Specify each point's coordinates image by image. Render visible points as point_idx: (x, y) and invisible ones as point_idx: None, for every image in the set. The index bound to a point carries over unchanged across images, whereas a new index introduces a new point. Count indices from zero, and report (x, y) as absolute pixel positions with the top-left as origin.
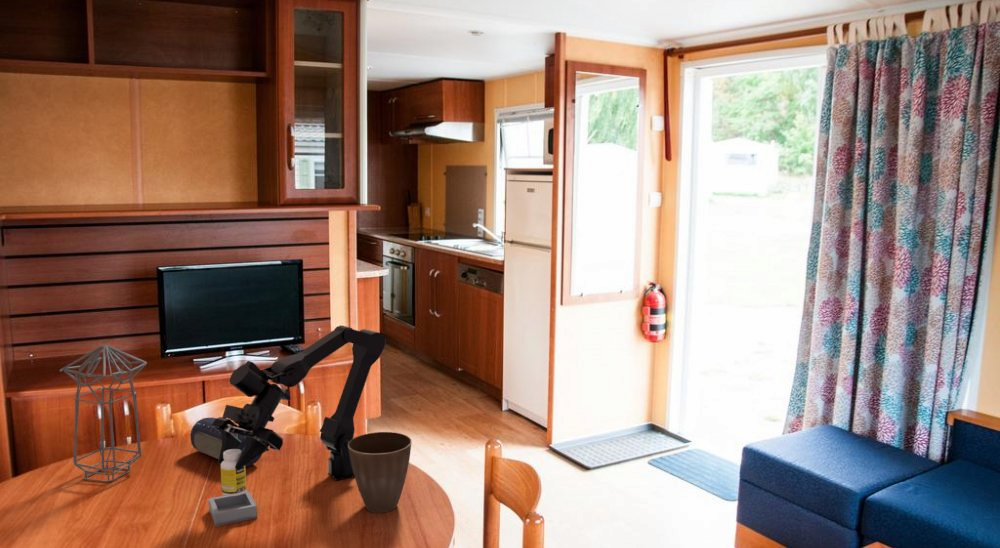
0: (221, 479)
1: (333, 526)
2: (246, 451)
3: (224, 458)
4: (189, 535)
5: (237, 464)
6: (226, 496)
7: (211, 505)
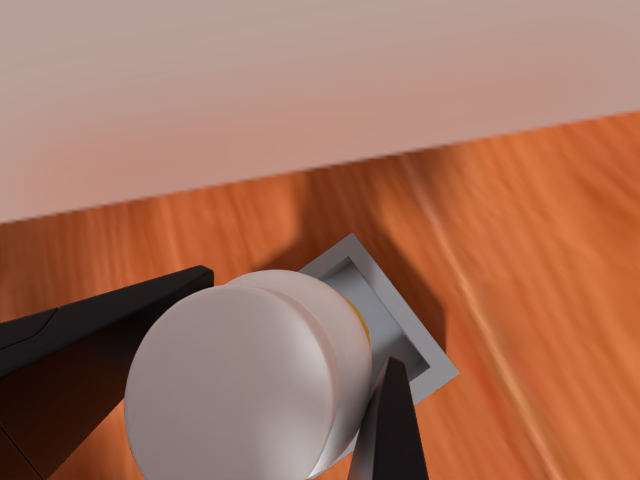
0: (354, 307)
1: (10, 296)
2: (4, 323)
3: (299, 303)
4: (407, 176)
5: (180, 275)
6: None
7: (406, 303)
